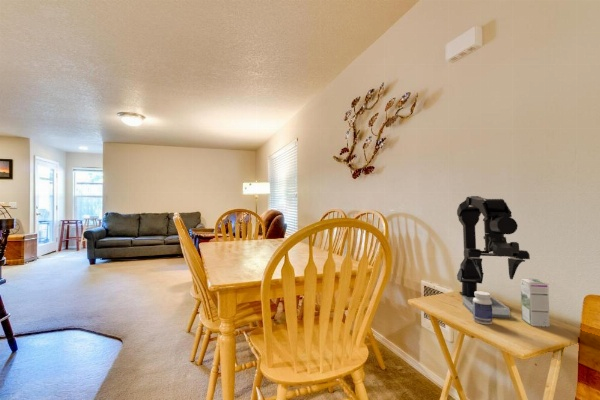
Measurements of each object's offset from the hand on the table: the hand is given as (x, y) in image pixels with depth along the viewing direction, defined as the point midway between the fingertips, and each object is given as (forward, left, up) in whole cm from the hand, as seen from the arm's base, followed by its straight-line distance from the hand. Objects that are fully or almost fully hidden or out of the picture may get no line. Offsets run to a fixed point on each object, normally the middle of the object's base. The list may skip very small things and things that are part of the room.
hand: (496, 278), depth 100 cm
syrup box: (0, +12, -15) cm, 19 cm away
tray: (-9, 0, -15) cm, 17 cm away
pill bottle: (+2, -5, -15) cm, 16 cm away
